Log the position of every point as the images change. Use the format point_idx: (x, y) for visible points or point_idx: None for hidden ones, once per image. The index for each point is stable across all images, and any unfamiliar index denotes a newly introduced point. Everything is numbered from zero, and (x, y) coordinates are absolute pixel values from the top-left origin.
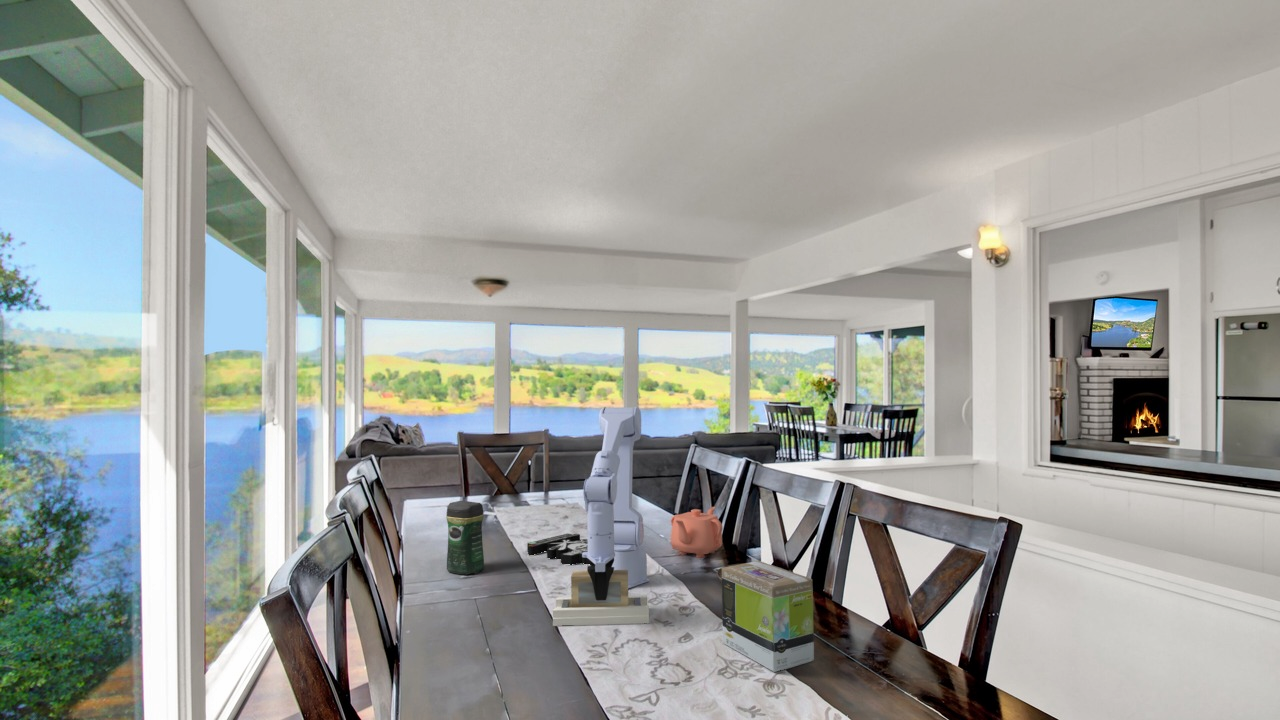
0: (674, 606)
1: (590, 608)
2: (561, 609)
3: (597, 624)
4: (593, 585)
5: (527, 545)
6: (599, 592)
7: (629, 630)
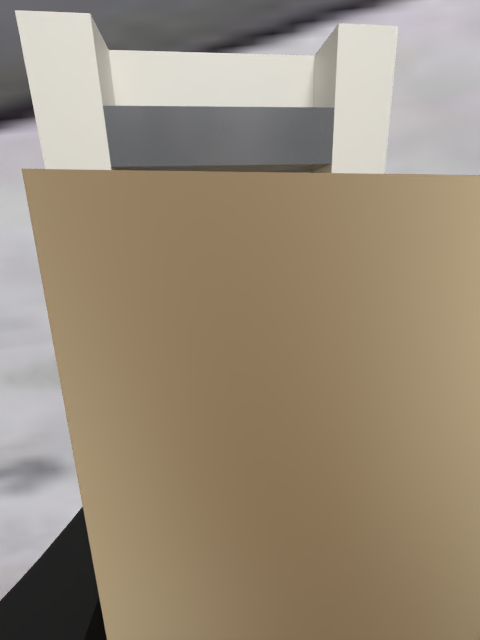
0: None
1: None
2: (58, 111)
3: None
4: (35, 565)
5: None
6: None
7: (44, 524)
